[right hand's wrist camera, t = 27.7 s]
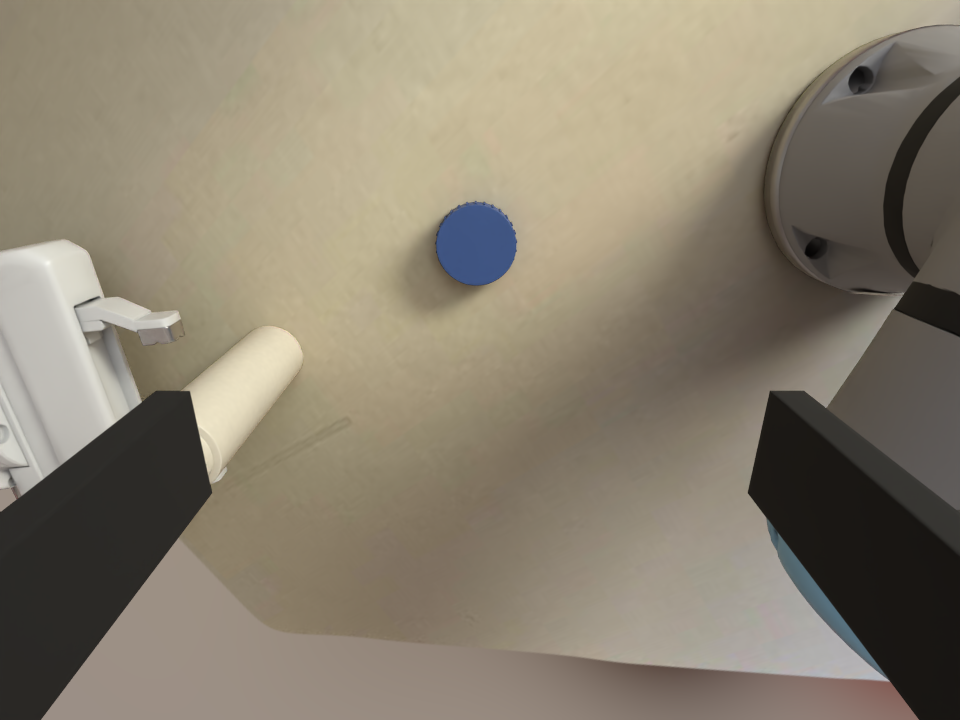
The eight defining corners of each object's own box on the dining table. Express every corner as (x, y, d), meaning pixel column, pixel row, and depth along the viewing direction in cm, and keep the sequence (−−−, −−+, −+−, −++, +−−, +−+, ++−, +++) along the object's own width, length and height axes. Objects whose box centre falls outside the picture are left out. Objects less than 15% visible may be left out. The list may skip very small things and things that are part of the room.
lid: (445, 286, 38) (444, 293, 36) (429, 208, 36) (427, 212, 34) (521, 273, 37) (523, 279, 36) (508, 193, 35) (510, 196, 34)
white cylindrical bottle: (292, 320, 39) (185, 424, 25) (311, 376, 40) (220, 504, 26) (232, 331, 39) (93, 440, 25) (253, 386, 41) (134, 518, 27)
